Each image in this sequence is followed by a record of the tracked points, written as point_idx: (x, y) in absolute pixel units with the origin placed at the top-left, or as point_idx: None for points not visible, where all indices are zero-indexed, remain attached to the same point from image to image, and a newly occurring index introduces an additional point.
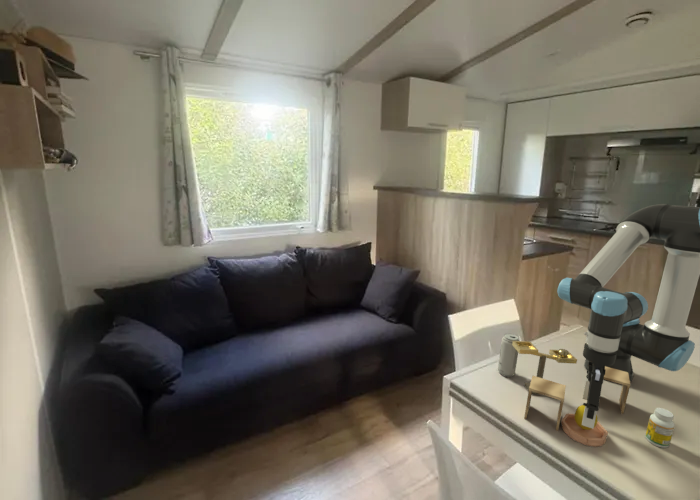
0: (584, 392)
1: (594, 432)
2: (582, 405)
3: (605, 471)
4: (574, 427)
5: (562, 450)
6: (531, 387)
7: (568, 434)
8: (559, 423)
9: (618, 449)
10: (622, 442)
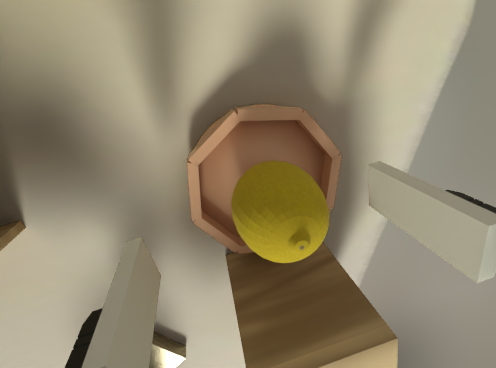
0: (155, 306)
1: (248, 150)
2: (291, 260)
3: (412, 66)
4: None
5: None
6: None
7: None
8: (324, 244)
9: (261, 54)
10: (198, 49)
